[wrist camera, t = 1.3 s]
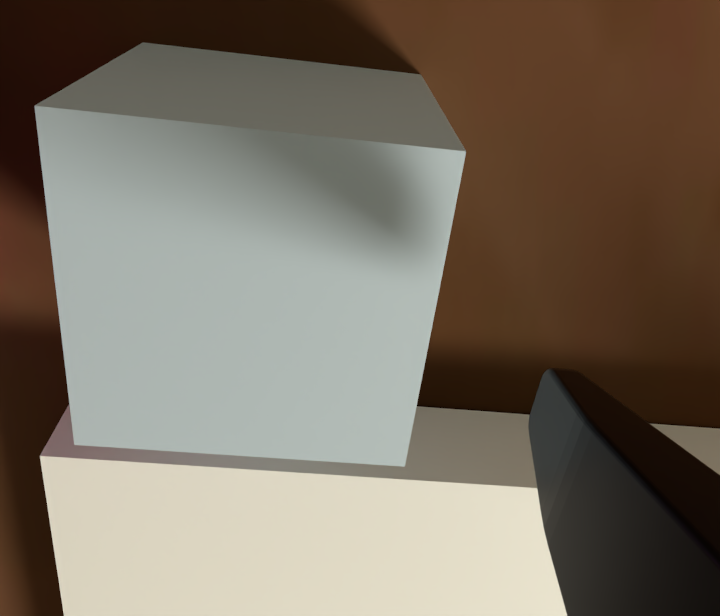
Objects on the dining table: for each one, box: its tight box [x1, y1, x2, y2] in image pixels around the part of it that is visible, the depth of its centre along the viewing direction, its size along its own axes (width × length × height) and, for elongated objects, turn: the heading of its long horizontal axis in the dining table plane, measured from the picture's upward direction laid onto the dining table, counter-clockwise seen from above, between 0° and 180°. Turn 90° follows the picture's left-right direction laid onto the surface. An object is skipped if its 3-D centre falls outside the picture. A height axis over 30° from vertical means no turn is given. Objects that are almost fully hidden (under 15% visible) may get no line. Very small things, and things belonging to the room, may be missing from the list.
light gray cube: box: [34, 42, 466, 467], centre depth 13 cm, size 6×6×6 cm
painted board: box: [40, 405, 720, 616], centre depth 21 cm, size 20×14×3 cm
